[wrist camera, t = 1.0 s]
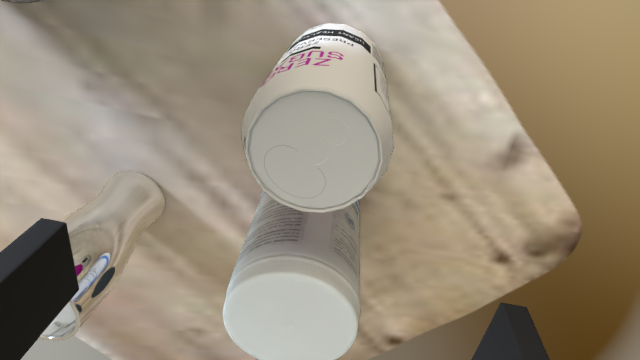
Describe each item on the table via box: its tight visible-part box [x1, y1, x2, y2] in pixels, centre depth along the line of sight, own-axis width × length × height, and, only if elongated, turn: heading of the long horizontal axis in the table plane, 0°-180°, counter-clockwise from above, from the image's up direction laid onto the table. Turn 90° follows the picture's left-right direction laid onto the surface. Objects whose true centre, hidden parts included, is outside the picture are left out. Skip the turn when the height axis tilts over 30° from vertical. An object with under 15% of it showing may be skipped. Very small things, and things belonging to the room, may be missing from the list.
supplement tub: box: [223, 191, 360, 360], centre depth 34 cm, size 10×10×15 cm
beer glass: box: [38, 171, 165, 341], centre depth 36 cm, size 7×7×15 cm
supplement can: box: [241, 23, 394, 213], centre depth 28 cm, size 8×8×15 cm
